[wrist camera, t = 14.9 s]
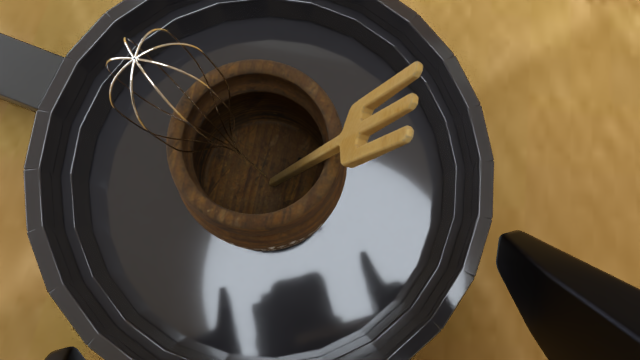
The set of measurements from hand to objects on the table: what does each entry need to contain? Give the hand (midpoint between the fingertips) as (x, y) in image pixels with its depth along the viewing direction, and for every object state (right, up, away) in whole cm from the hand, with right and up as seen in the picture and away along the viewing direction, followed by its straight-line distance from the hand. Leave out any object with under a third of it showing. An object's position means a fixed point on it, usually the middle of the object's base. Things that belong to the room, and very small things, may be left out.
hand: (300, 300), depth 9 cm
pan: (-2, +2, +11) cm, 11 cm away
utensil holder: (-2, +2, +10) cm, 11 cm away
